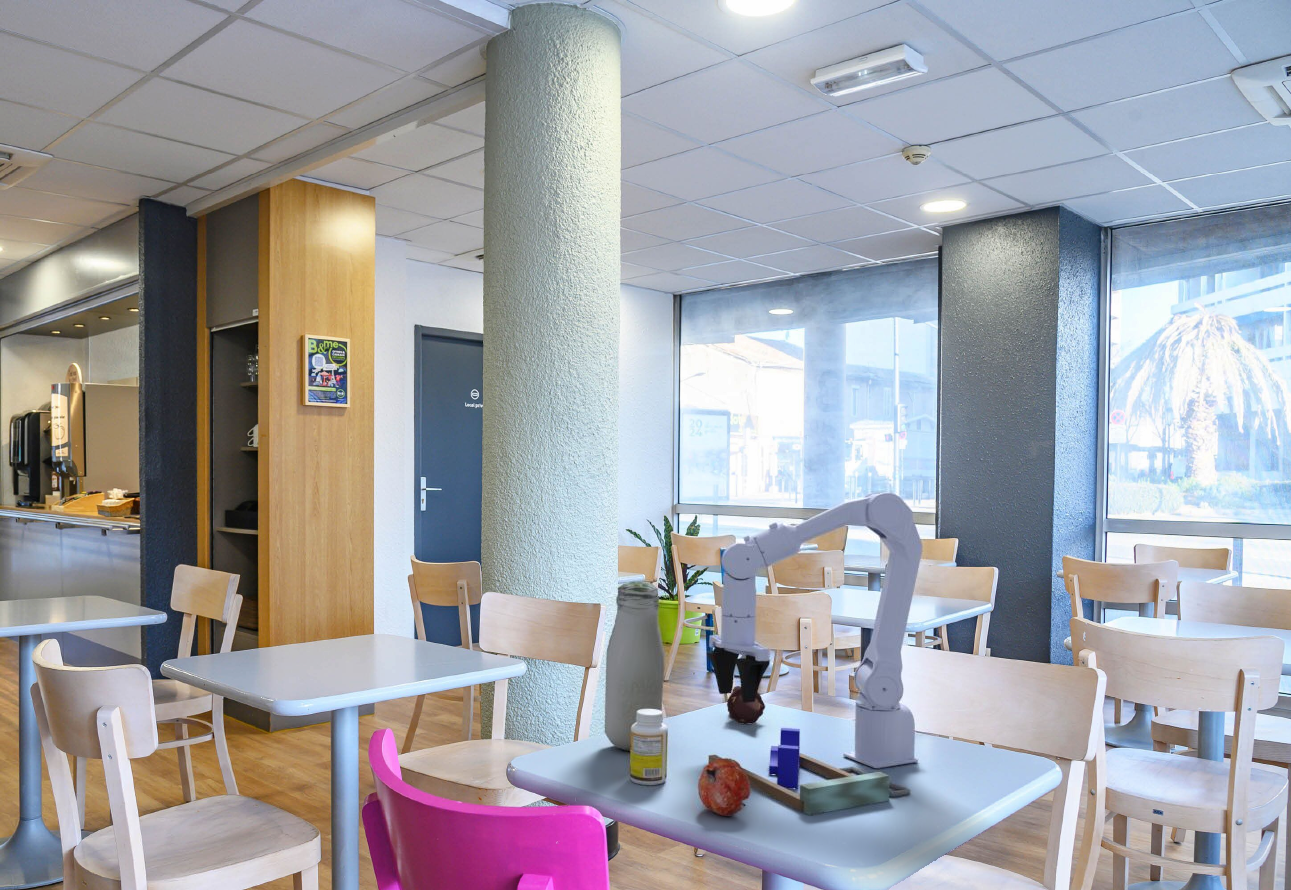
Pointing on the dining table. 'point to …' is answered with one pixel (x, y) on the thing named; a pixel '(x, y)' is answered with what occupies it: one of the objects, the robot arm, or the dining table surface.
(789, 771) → the cable clip
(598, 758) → the dining table surface
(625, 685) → the glass bottle
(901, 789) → the cord loop
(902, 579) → the robot arm
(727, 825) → the dining table surface
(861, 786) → the guide lane
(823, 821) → the dining table surface
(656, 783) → the supplement bottle
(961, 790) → the dining table surface
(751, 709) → the icecream
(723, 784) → the pomegranate
